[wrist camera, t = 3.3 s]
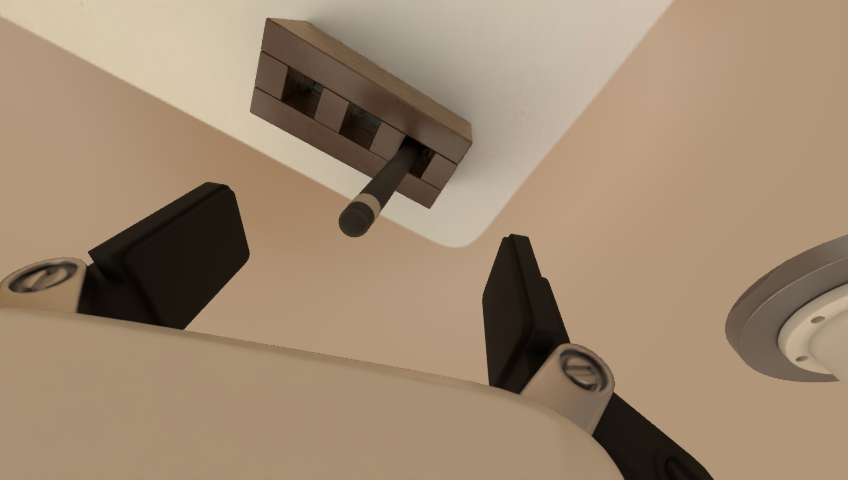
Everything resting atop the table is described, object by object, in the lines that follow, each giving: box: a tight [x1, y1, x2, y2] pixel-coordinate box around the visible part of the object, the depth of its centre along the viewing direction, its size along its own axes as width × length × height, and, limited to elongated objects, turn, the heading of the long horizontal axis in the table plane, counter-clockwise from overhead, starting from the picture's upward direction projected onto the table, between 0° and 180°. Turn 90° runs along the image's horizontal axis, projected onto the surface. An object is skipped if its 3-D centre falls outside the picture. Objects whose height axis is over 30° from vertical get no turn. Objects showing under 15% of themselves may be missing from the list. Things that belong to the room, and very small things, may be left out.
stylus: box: [339, 137, 426, 237], centre depth 17 cm, size 1×1×13 cm
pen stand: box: [250, 18, 472, 209], centre depth 19 cm, size 5×12×4 cm, turn 61°
